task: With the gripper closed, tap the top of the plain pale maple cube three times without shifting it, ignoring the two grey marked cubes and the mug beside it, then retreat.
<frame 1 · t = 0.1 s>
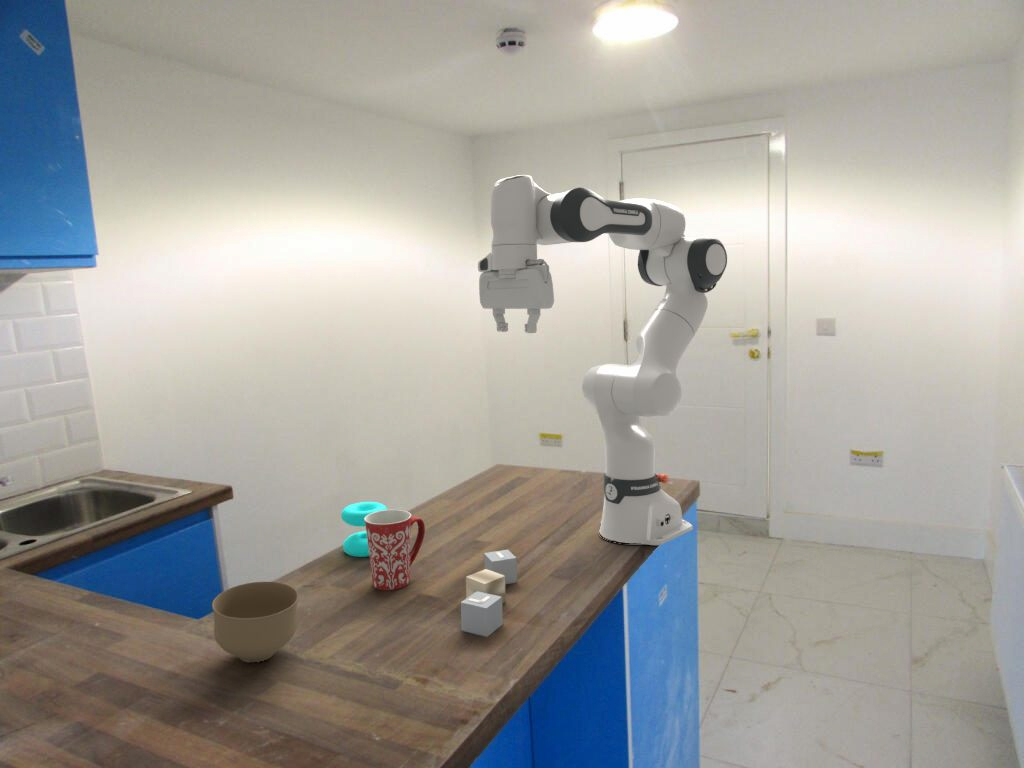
hand: (516, 332, 142), 48 cm above the countertop, fingers open, 8 cm apart
mug: (399, 581, 142), on the countertop
donuts: (366, 551, 159), on the countertop
bowl: (259, 658, 113), on the countertop
grey block a: (500, 580, 141), on the countertop
maple block: (486, 602, 131), on the countertop
grey block b: (482, 627, 121), on the countertop
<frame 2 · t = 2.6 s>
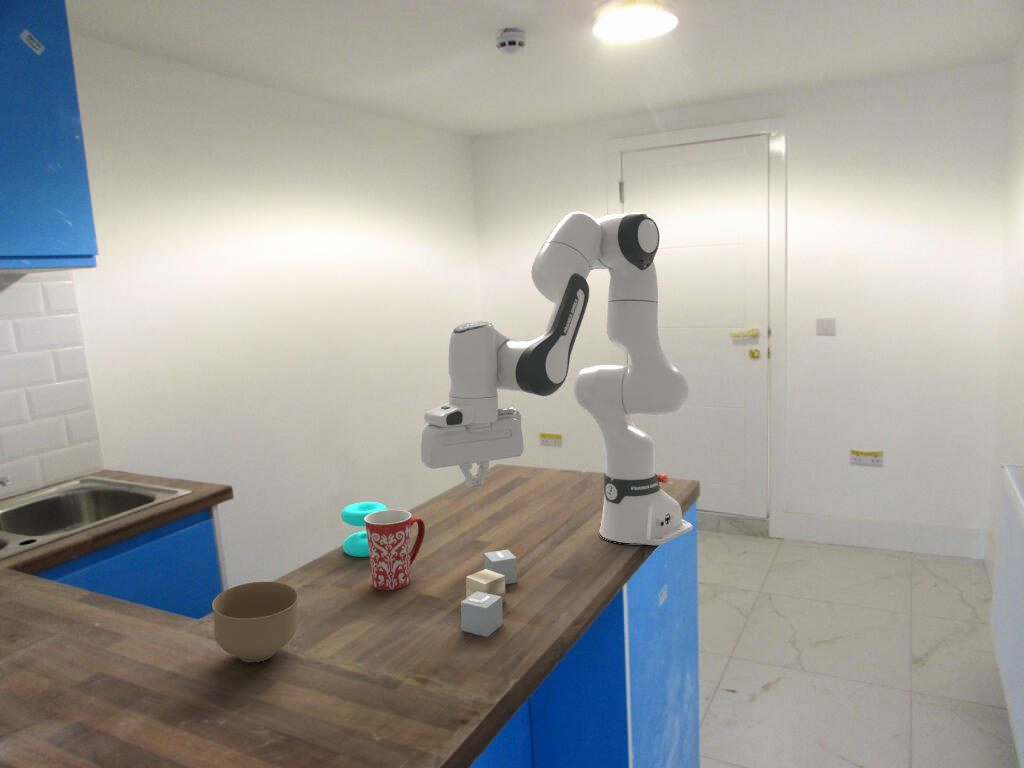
hand: (474, 486, 133), 20 cm above the countertop, fingers closed
nothing on the countertop moved.
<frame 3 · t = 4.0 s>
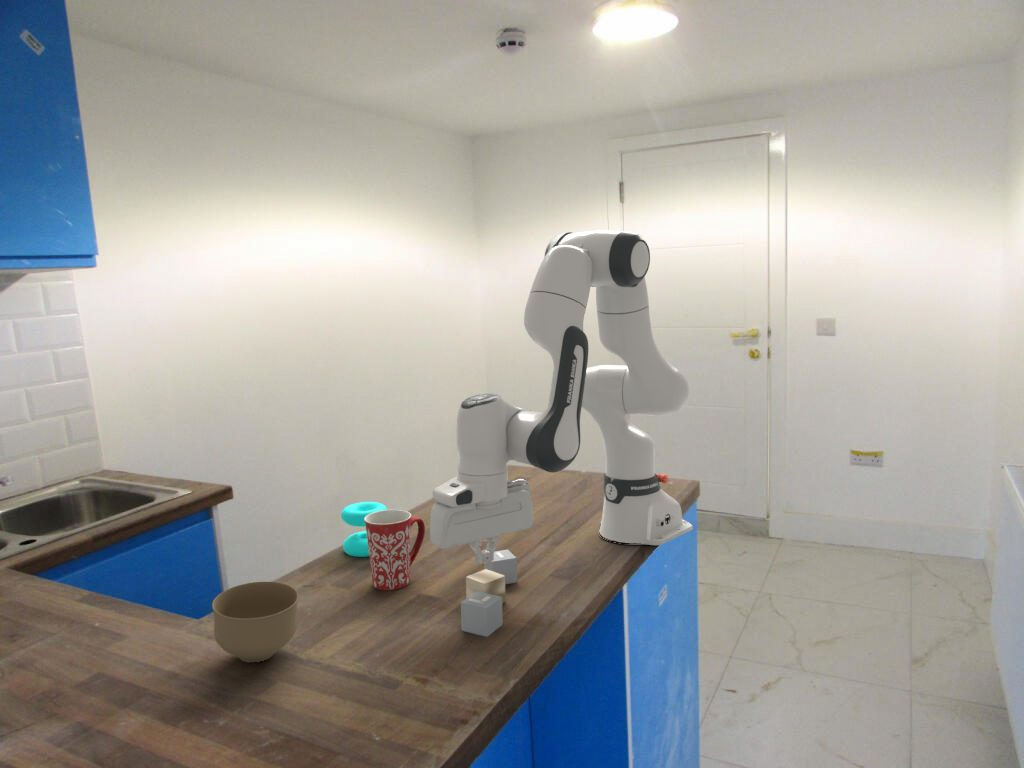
hand: (484, 561, 130), 8 cm above the countertop, fingers closed
nothing on the countertop moved.
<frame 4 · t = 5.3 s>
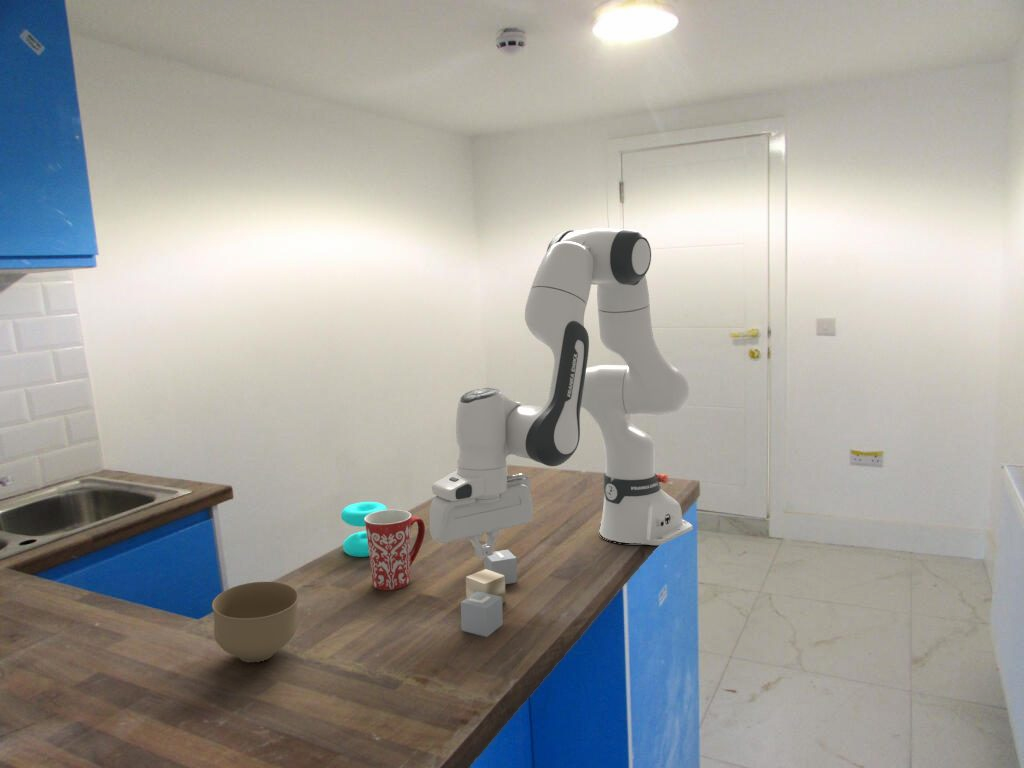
hand: (484, 555, 130), 9 cm above the countertop, fingers closed
nothing on the countertop moved.
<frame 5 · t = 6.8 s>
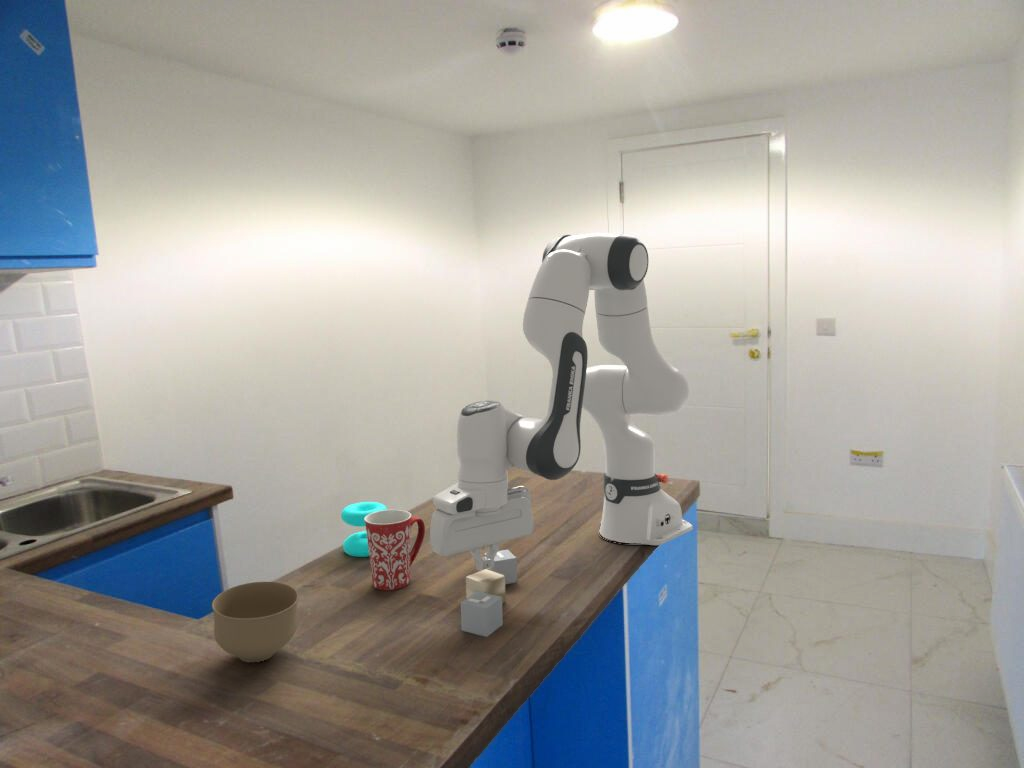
hand: (484, 568, 130), 7 cm above the countertop, fingers closed
nothing on the countertop moved.
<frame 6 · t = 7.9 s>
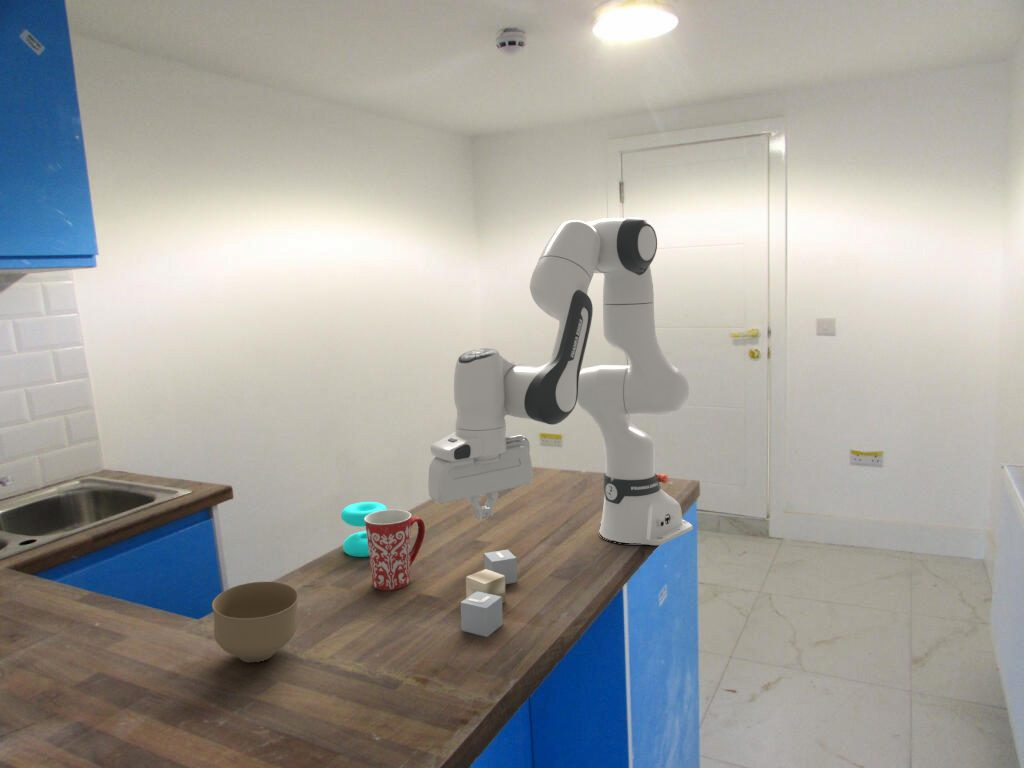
hand: (484, 517, 129), 16 cm above the countertop, fingers closed
nothing on the countertop moved.
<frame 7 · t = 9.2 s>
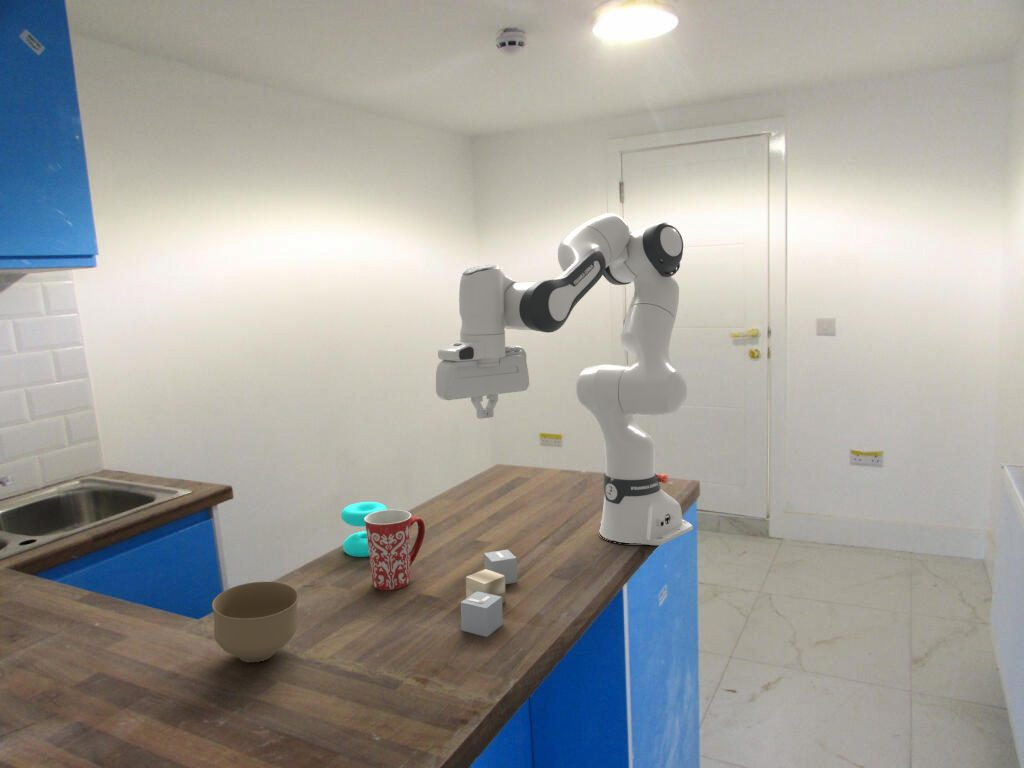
hand: (485, 417, 144), 31 cm above the countertop, fingers closed
nothing on the countertop moved.
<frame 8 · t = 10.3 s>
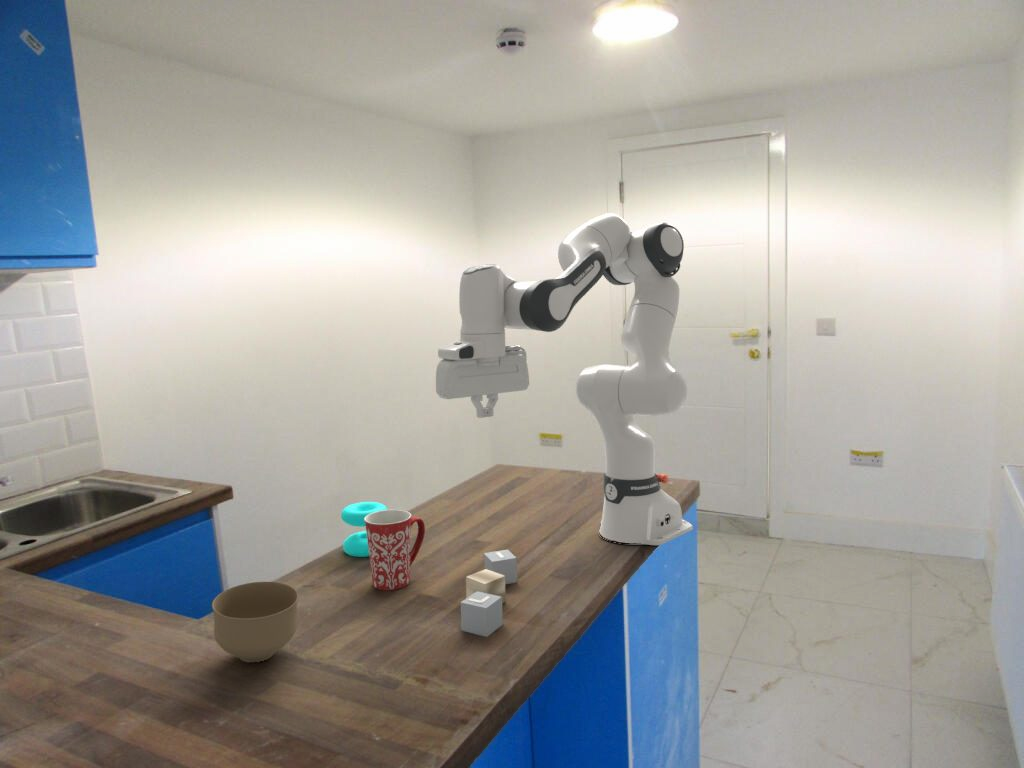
hand: (485, 416, 144), 31 cm above the countertop, fingers closed
nothing on the countertop moved.
at the end: maple block moved 0.1 cm from its start; maple block tilted 0°; grey block a moved 0.1 cm from its start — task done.
